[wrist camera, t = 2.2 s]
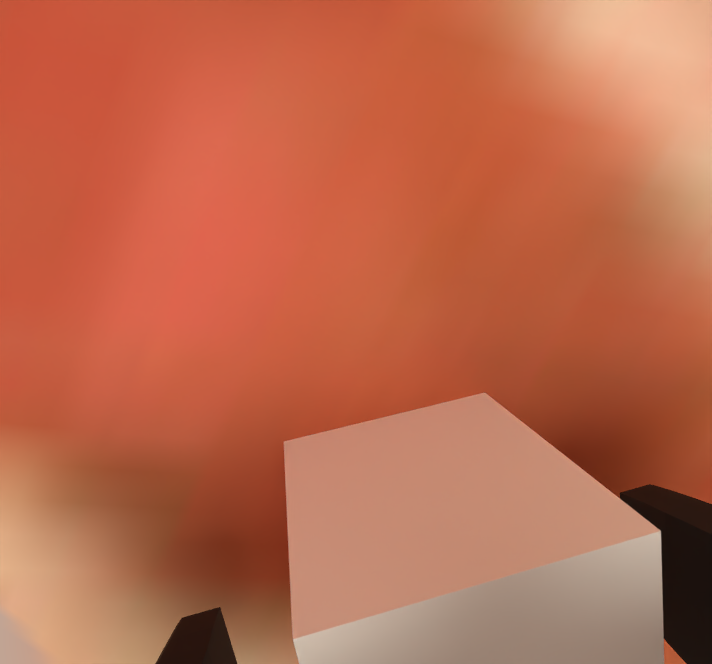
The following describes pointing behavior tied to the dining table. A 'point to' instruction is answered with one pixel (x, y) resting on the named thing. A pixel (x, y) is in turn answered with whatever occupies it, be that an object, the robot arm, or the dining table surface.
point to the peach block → (463, 547)
